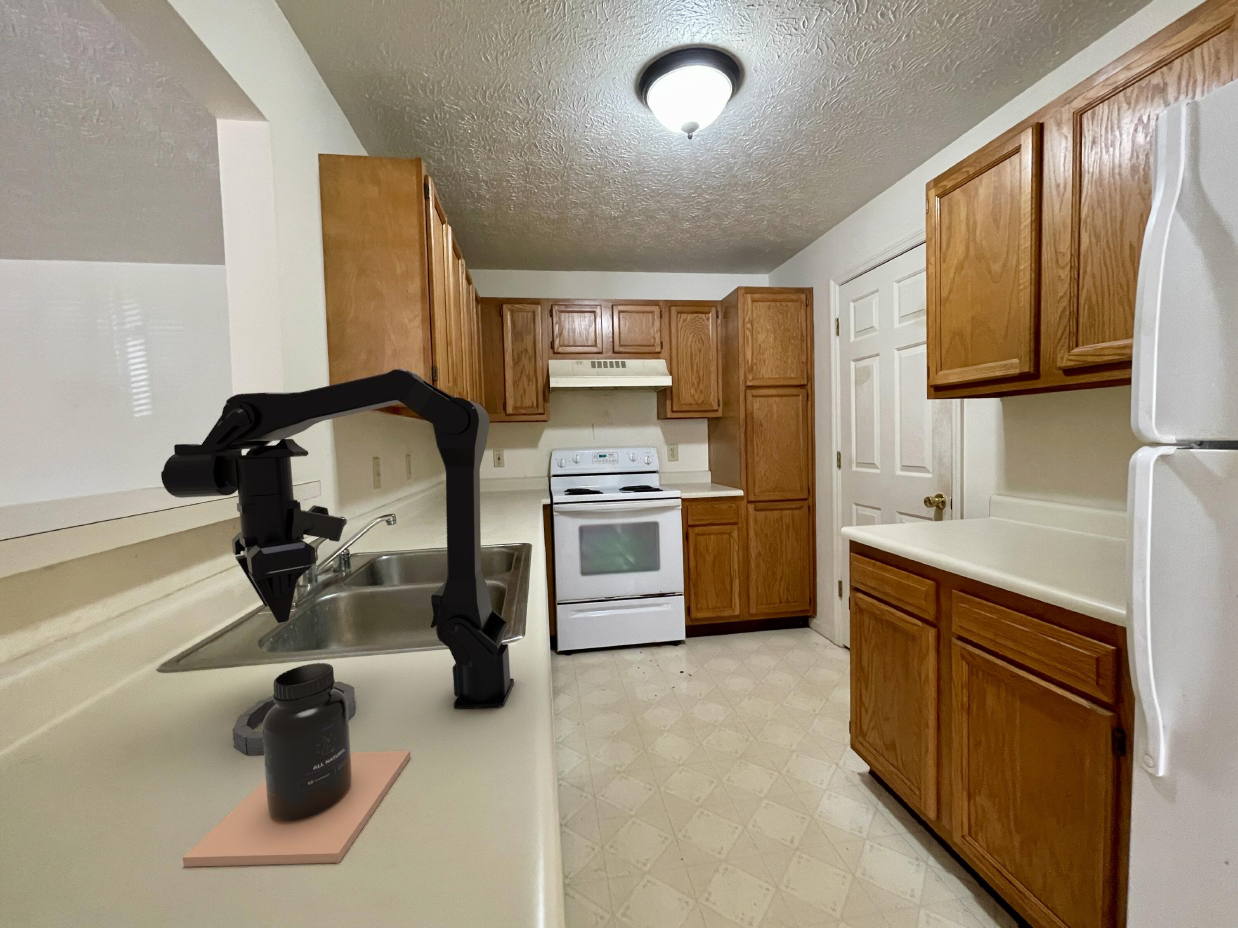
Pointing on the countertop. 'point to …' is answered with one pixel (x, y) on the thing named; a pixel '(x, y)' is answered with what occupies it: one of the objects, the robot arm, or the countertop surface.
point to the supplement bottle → (306, 743)
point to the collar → (252, 717)
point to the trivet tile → (300, 822)
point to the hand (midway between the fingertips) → (276, 613)
